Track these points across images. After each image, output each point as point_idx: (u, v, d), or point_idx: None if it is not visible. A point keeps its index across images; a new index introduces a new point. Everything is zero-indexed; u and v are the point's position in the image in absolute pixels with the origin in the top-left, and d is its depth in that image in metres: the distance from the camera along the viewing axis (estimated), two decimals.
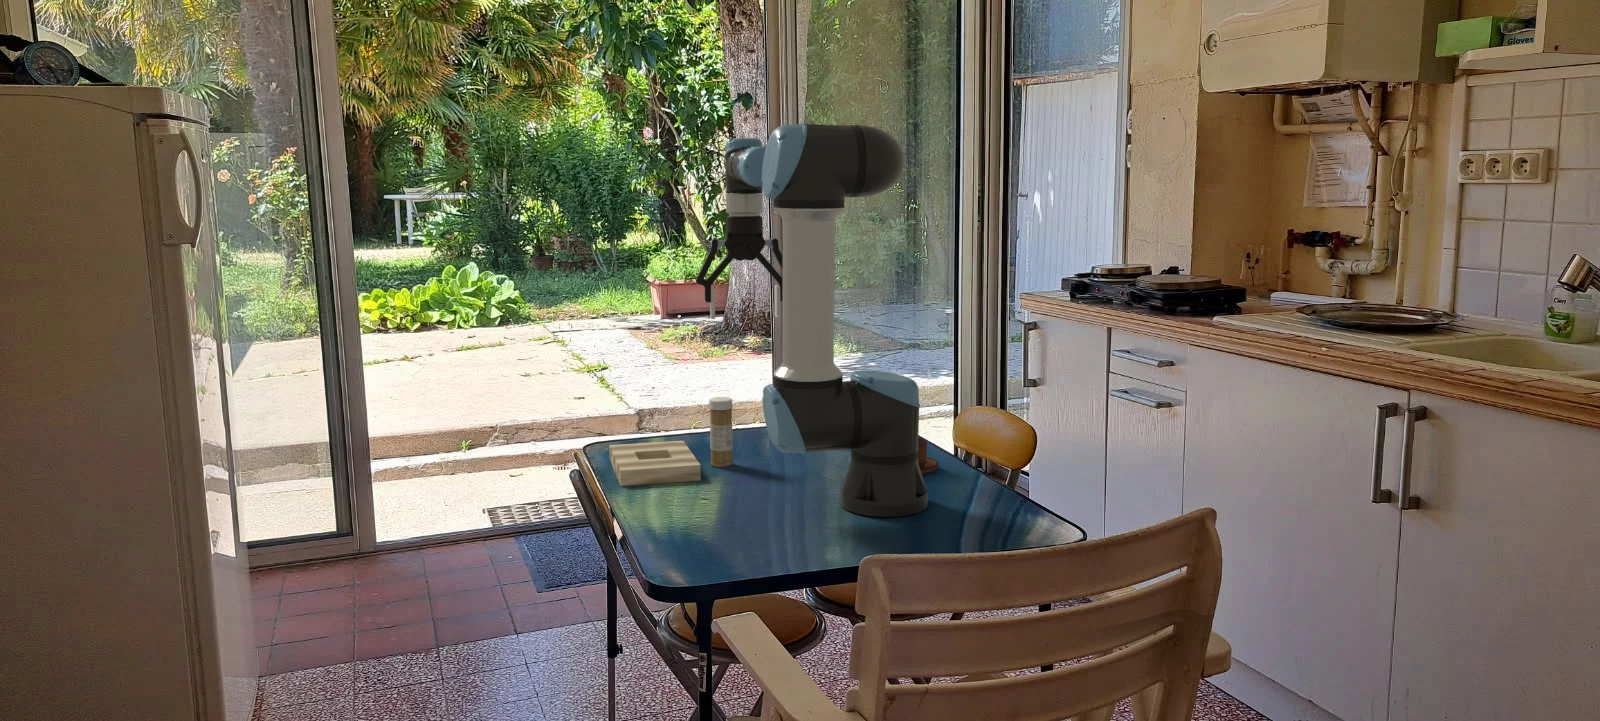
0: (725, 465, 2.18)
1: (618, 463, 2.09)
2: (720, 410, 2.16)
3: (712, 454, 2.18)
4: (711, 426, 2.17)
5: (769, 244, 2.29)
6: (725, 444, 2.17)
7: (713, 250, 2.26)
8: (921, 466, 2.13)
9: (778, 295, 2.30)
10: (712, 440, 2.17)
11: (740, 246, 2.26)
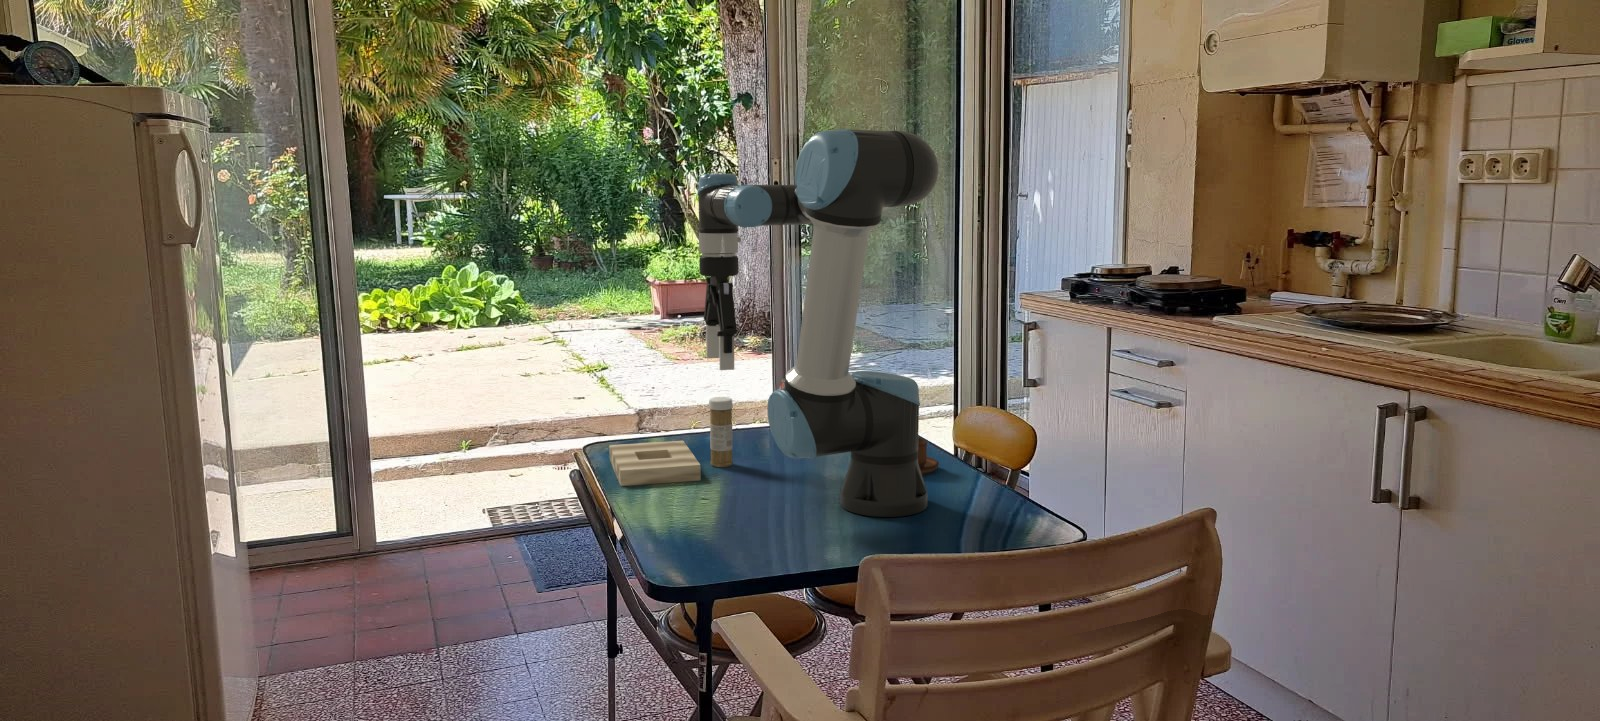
0: (725, 465, 2.18)
1: (618, 463, 2.09)
2: (720, 410, 2.16)
3: (712, 454, 2.18)
4: (711, 426, 2.17)
5: None
6: (725, 444, 2.17)
7: (706, 288, 2.20)
8: (921, 466, 2.13)
9: (719, 345, 2.09)
10: (712, 440, 2.17)
11: (708, 287, 2.14)
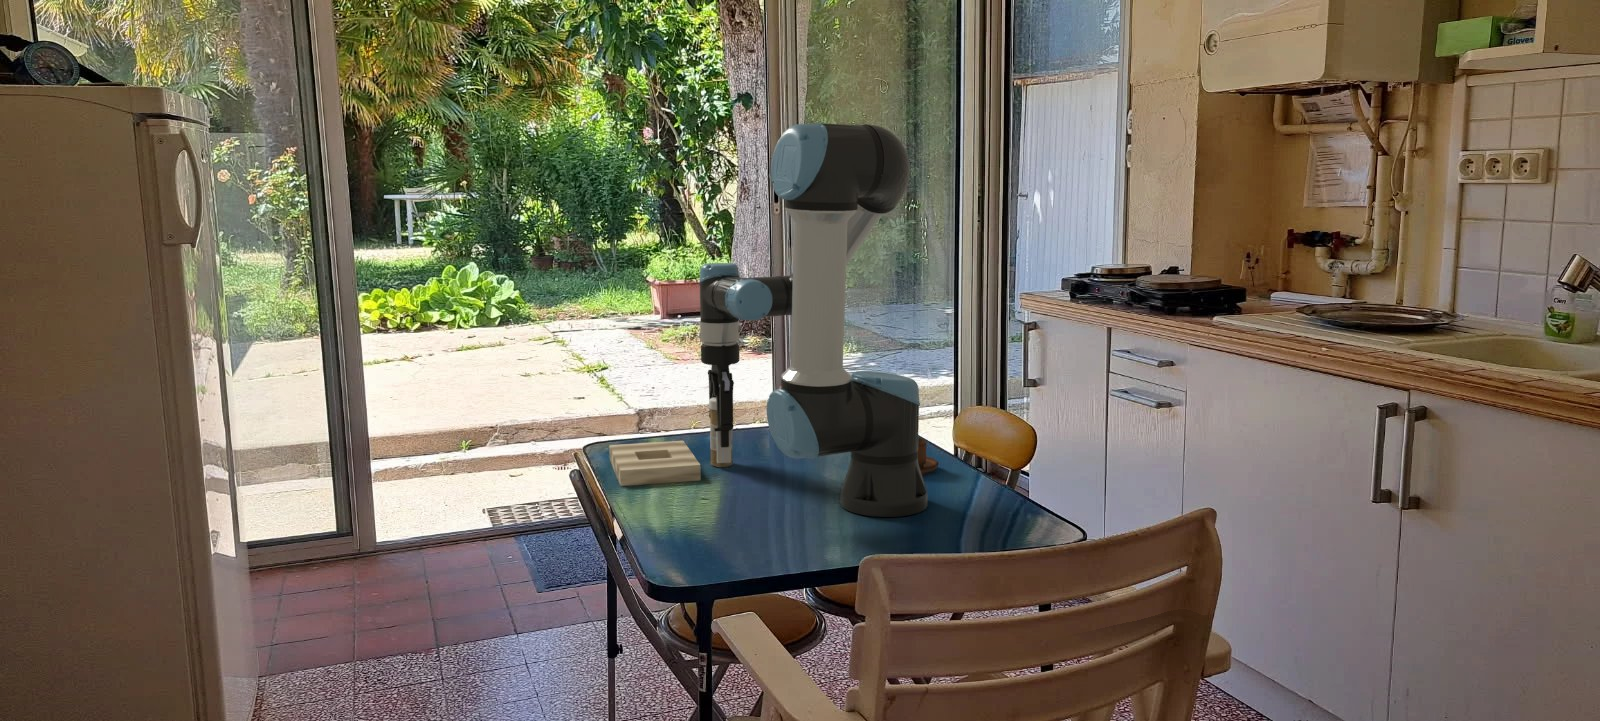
0: (725, 465, 2.18)
1: (618, 463, 2.09)
2: None
3: (712, 454, 2.18)
4: (711, 426, 2.17)
5: None
6: None
7: (709, 381, 2.22)
8: (921, 466, 2.13)
9: None
10: (712, 440, 2.17)
11: (709, 373, 2.17)
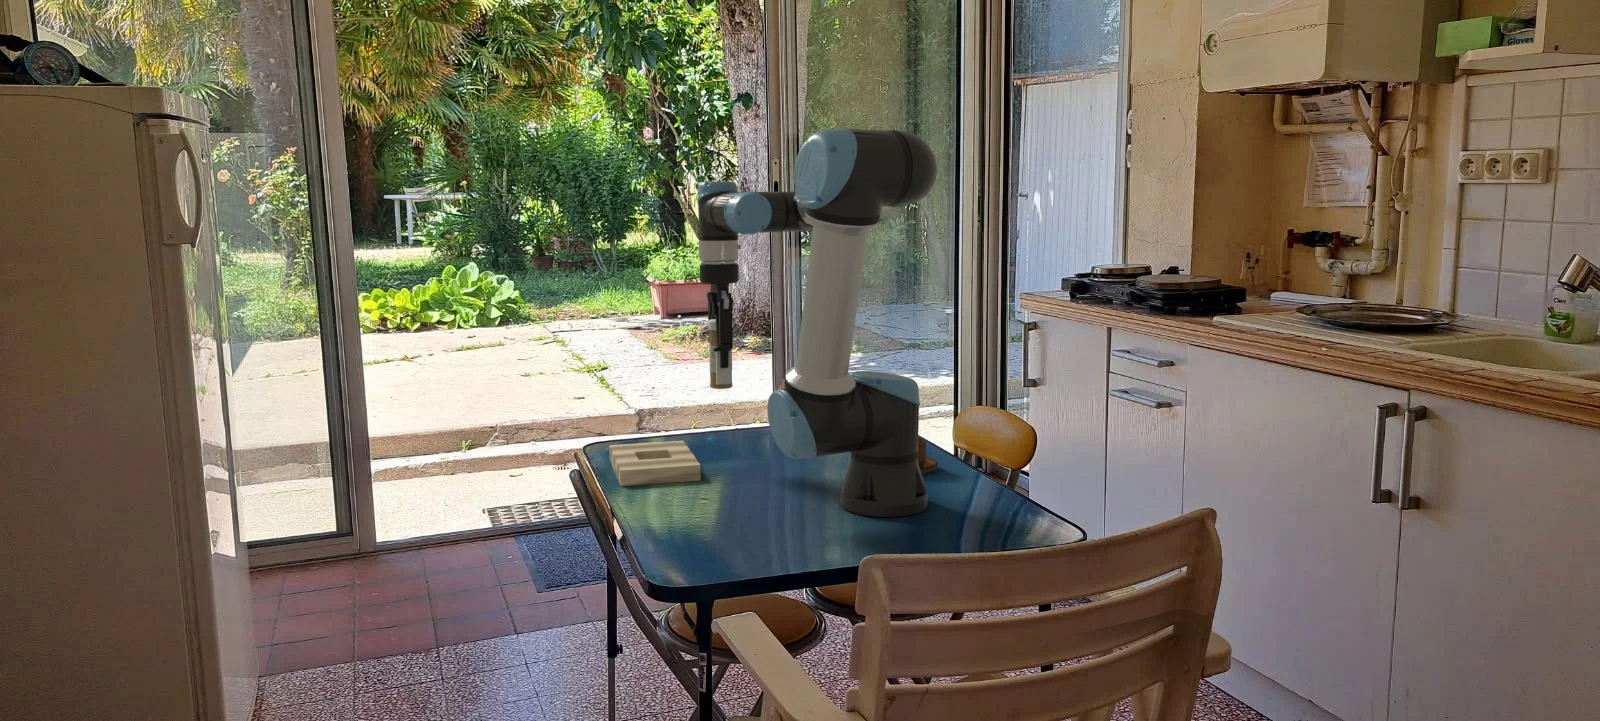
0: (725, 387, 2.15)
1: (618, 463, 2.09)
2: None
3: (711, 376, 2.15)
4: (710, 348, 2.15)
5: None
6: None
7: (708, 304, 2.19)
8: (920, 466, 2.13)
9: (716, 360, 2.13)
10: (711, 362, 2.15)
11: (708, 294, 2.15)
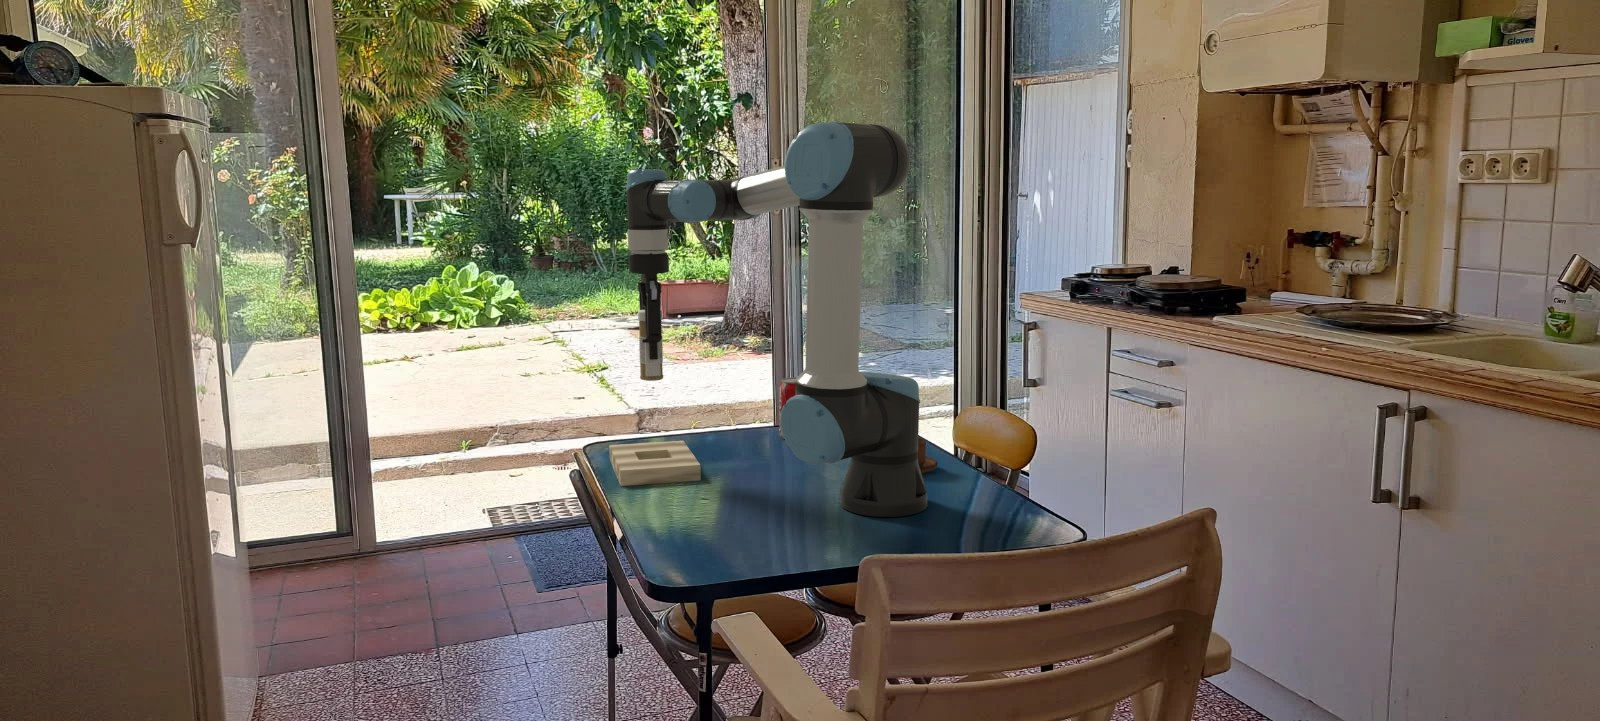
0: (654, 379, 2.11)
1: (618, 463, 2.09)
2: None
3: (641, 367, 2.12)
4: (640, 339, 2.11)
5: None
6: None
7: None
8: (920, 466, 2.13)
9: (645, 352, 2.10)
10: (641, 353, 2.11)
11: (638, 284, 2.11)
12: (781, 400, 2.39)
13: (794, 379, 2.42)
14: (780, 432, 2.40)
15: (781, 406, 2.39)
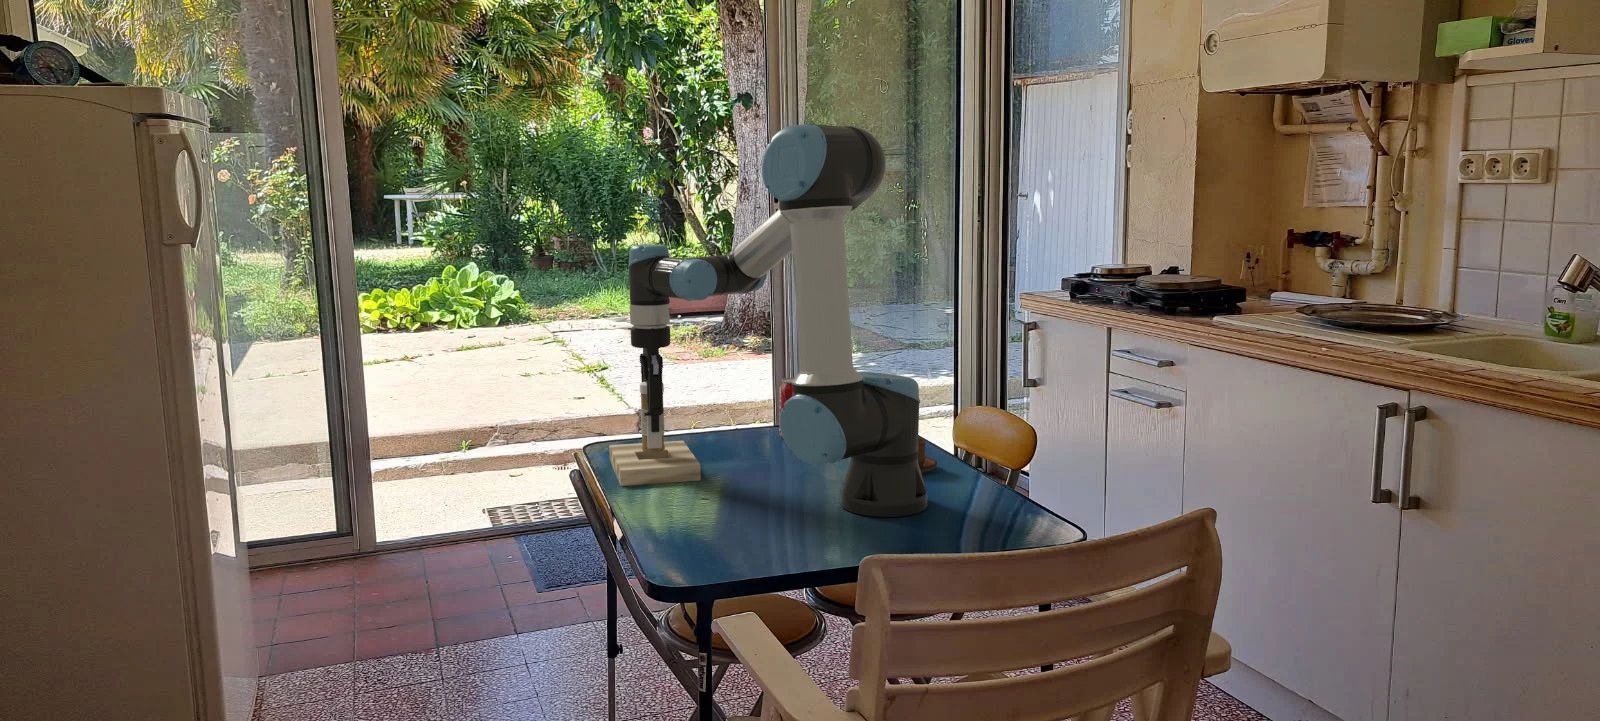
0: (656, 450, 2.13)
1: (618, 463, 2.09)
2: None
3: (643, 439, 2.14)
4: (641, 411, 2.13)
5: None
6: None
7: None
8: (919, 465, 2.13)
9: (647, 424, 2.12)
10: (643, 425, 2.13)
11: (640, 357, 2.13)
12: (781, 400, 2.39)
13: None
14: (780, 432, 2.40)
15: (781, 406, 2.39)
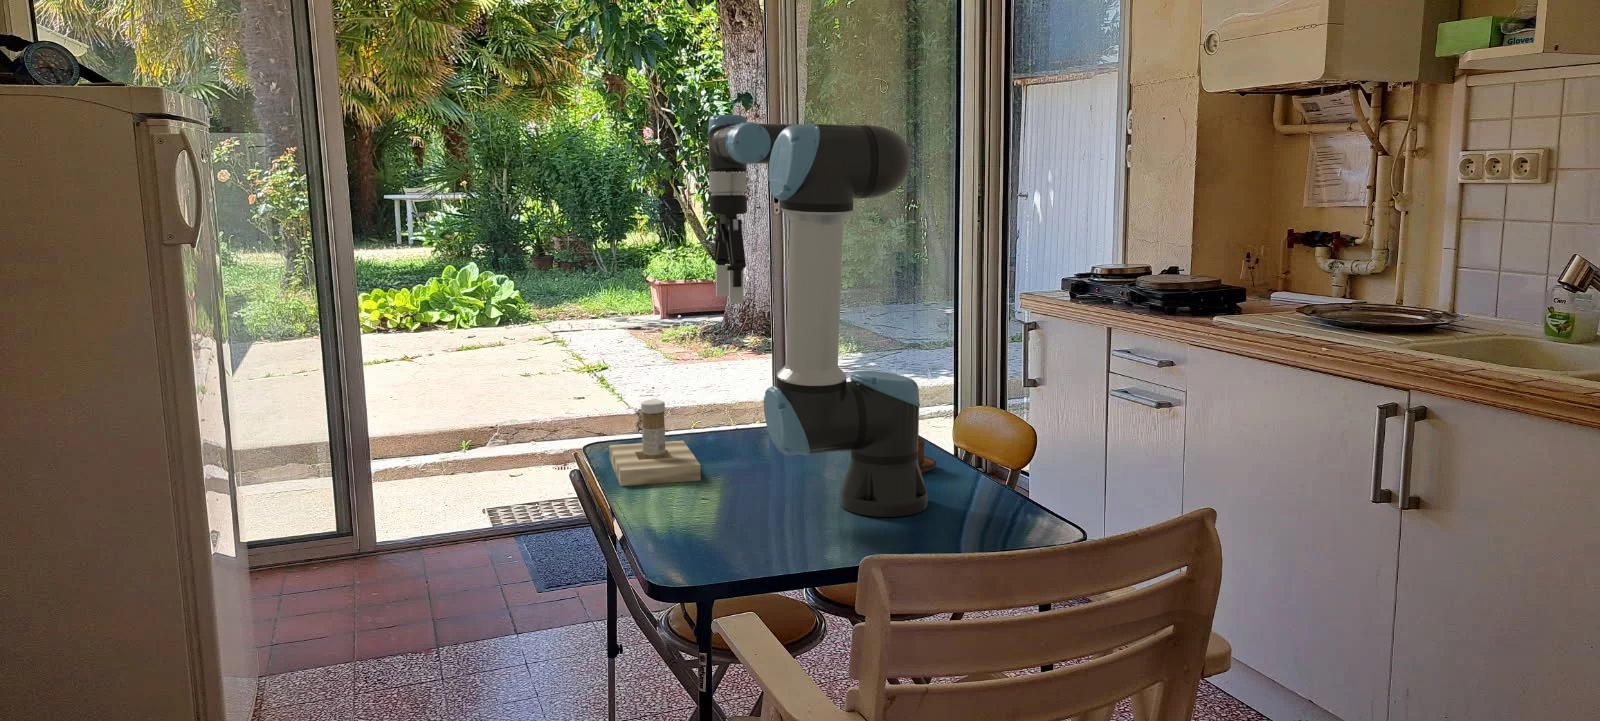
0: None
1: (618, 463, 2.09)
2: (651, 414, 2.12)
3: (644, 458, 2.14)
4: (642, 430, 2.13)
5: None
6: (657, 448, 2.13)
7: (716, 228, 2.29)
8: None
9: (729, 280, 2.17)
10: (644, 444, 2.13)
11: (717, 225, 2.23)
12: None
13: None
14: None
15: None
